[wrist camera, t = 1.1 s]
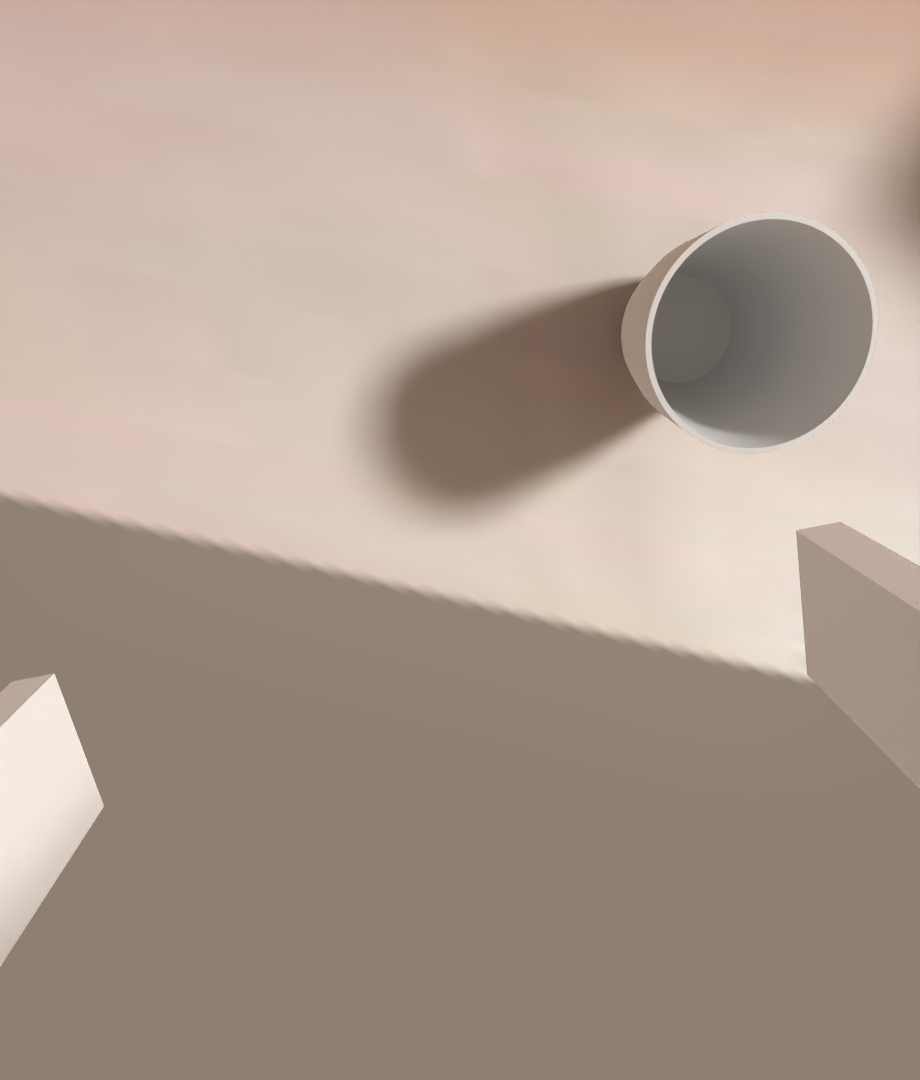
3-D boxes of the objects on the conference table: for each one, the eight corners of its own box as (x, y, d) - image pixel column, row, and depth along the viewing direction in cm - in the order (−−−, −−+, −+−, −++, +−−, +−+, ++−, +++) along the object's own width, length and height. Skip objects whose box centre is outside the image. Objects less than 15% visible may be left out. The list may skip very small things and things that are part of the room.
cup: (799, 292, 38) (925, 285, 28) (706, 448, 39) (794, 492, 30) (648, 204, 36) (726, 166, 27) (560, 369, 38) (603, 389, 29)
